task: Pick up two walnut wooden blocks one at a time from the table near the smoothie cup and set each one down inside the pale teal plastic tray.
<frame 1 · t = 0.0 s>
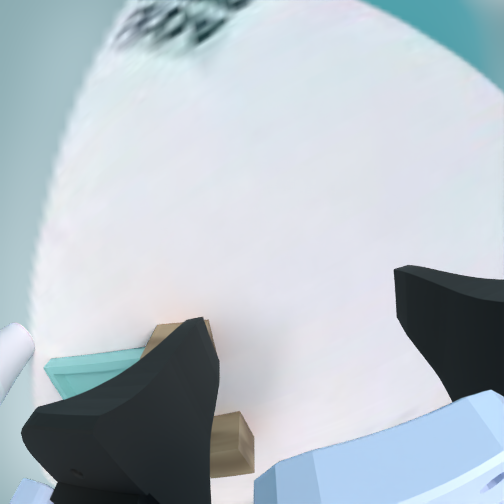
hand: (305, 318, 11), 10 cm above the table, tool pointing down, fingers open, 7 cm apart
tray: (131, 418, 26), on the table
smoothie: (22, 337, 23), on the table
block b: (188, 344, 23), on the table
block a: (226, 428, 26), on the table
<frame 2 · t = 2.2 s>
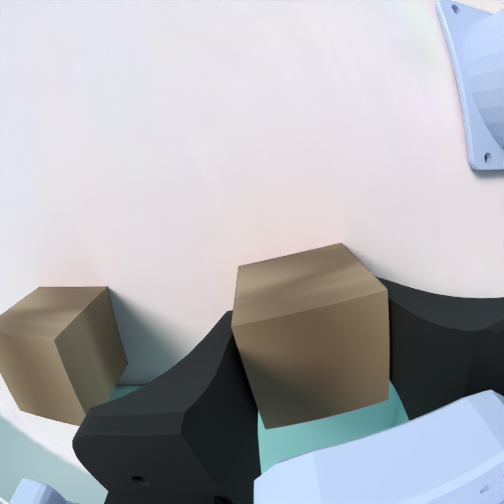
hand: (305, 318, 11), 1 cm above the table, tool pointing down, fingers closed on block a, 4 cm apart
tray: (267, 447, 15), on the table
block b: (81, 325, 13), on the table
block a: (300, 301, 12), on the table, touching gripper
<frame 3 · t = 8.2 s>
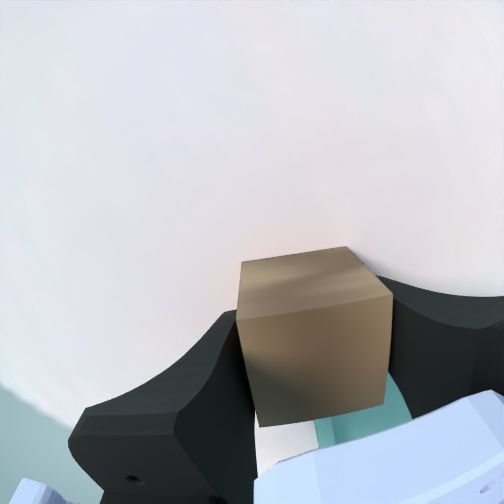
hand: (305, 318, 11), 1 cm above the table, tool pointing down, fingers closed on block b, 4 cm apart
tray: (445, 397, 14), on the table
block b: (300, 301, 12), on the table, touching gripper
when the fingers open (3 cm above the table, at t = 11.0 s): block b stays where it is, resting on tray.
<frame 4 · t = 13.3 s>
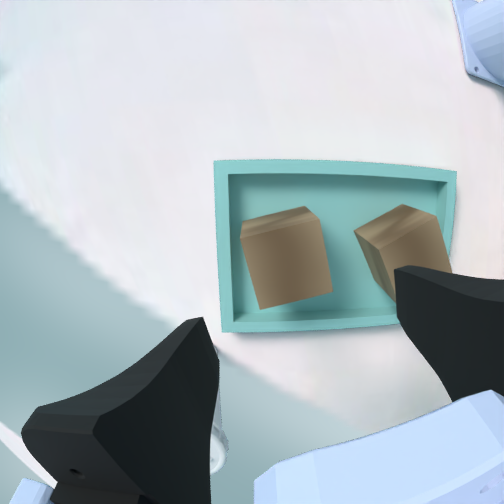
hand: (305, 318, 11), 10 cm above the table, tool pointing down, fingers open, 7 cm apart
tray: (340, 244, 20), on the table
smoothie: (194, 352, 23), on the table
block b: (281, 243, 20), resting on tray
block a: (388, 242, 20), resting on tray
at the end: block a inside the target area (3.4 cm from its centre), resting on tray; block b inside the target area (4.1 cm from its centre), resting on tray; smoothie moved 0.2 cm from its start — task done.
